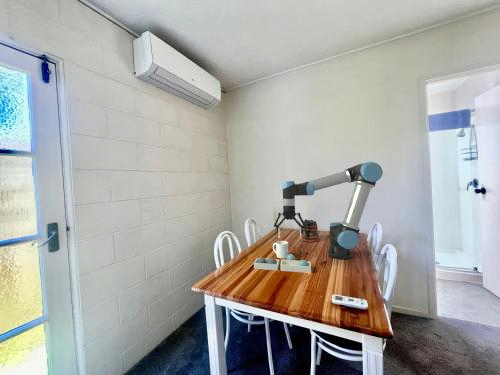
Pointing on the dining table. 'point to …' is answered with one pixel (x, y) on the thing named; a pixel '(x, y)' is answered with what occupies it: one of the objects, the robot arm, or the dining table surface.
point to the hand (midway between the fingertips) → (289, 237)
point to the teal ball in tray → (303, 263)
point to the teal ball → (290, 257)
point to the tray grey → (266, 265)
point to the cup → (281, 249)
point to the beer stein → (310, 231)
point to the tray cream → (295, 266)
